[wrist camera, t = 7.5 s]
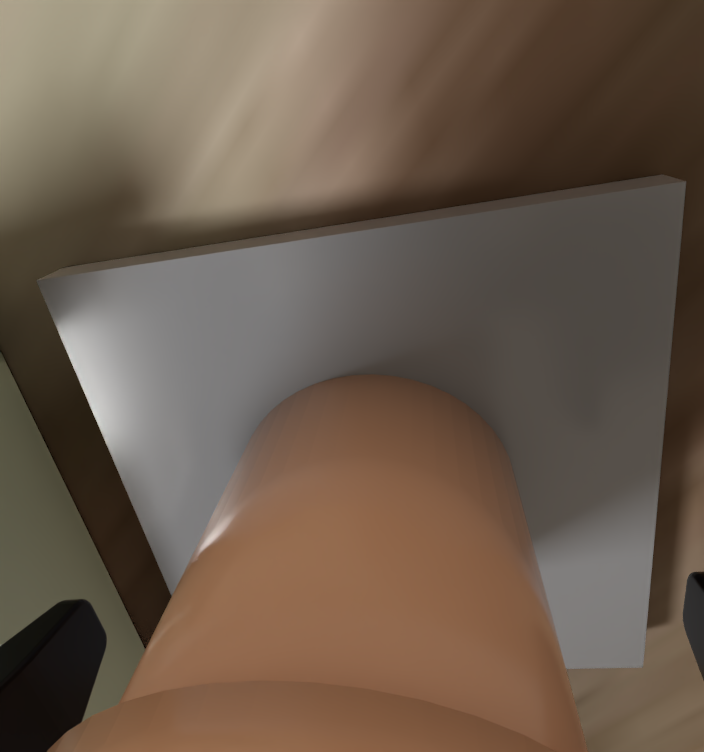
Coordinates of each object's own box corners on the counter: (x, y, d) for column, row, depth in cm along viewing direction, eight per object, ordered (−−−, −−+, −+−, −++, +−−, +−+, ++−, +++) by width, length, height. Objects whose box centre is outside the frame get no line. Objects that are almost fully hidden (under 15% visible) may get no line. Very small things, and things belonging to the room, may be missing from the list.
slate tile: (629, 634, 12) (642, 667, 12) (215, 645, 14) (205, 675, 13) (662, 174, 8) (686, 180, 7) (63, 267, 10) (36, 280, 9)
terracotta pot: (541, 604, 11) (705, 1261, 5) (261, 614, 12) (92, 1167, 6) (534, 332, 9) (864, 967, 2) (181, 372, 10) (-271, 888, 3)
